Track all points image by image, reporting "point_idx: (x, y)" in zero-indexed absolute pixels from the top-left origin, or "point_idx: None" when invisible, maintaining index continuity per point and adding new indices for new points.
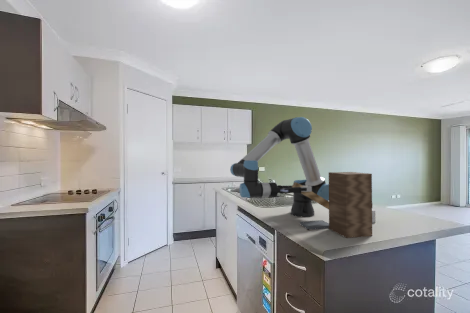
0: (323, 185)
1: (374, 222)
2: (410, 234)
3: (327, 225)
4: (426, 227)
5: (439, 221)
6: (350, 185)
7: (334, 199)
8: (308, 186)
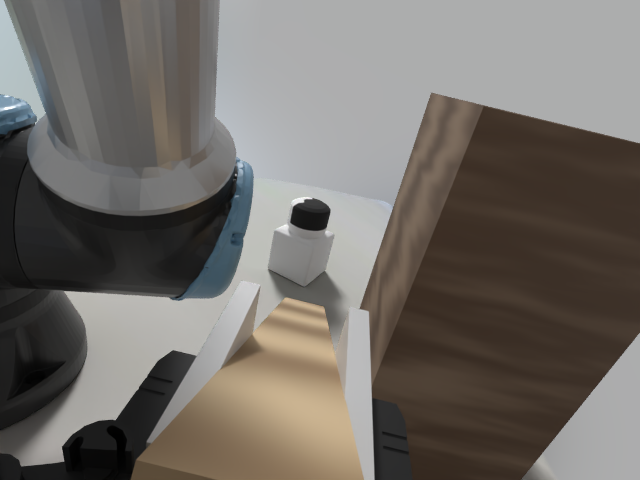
0: (245, 185)
1: (324, 270)
2: None
3: None
4: None
5: (357, 202)
6: None
7: (471, 339)
8: (352, 334)
